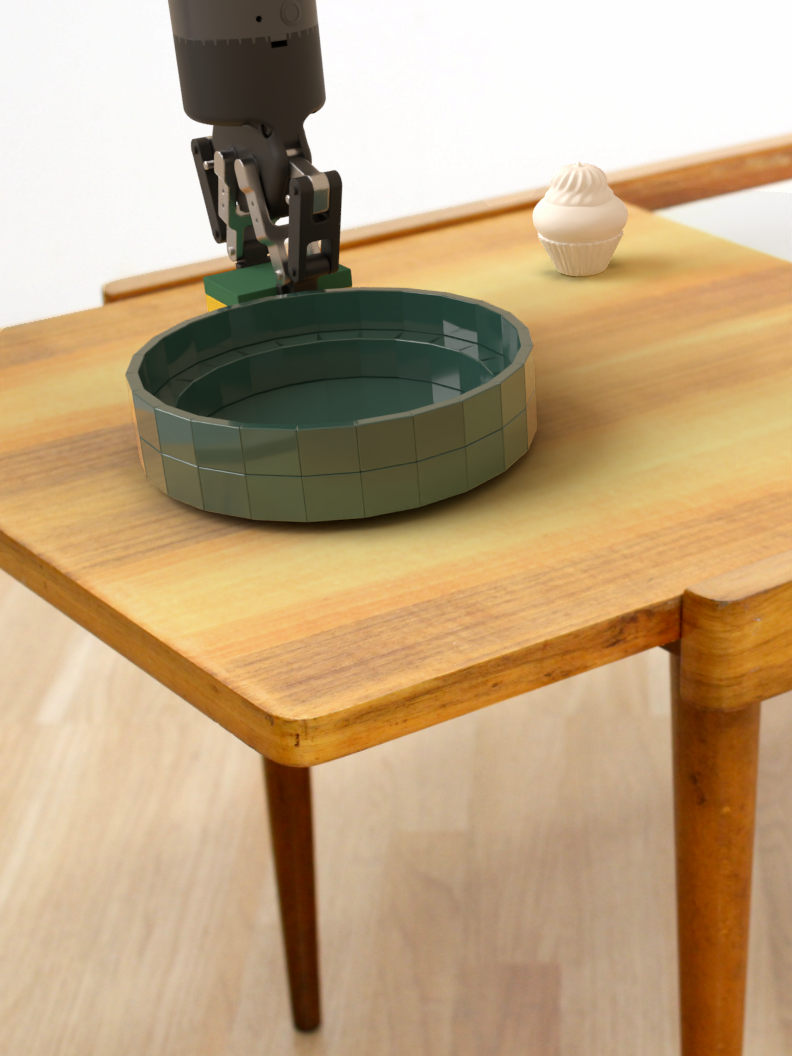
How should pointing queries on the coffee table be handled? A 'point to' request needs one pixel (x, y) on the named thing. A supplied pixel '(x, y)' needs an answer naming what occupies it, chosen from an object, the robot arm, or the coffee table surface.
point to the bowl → (333, 403)
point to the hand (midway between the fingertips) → (283, 332)
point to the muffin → (580, 220)
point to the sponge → (258, 284)
